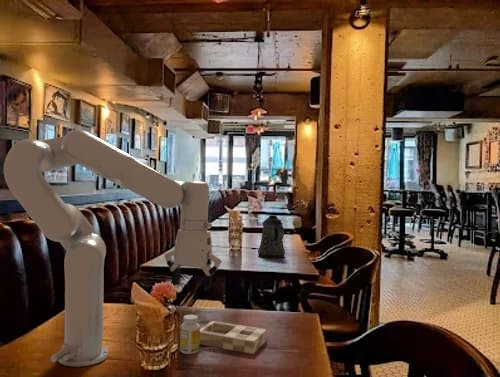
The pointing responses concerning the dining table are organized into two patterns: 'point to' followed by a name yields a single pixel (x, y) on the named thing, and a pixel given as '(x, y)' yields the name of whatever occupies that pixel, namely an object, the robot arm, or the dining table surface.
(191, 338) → the supplement bottle
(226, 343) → the socket block
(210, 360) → the dining table surface
